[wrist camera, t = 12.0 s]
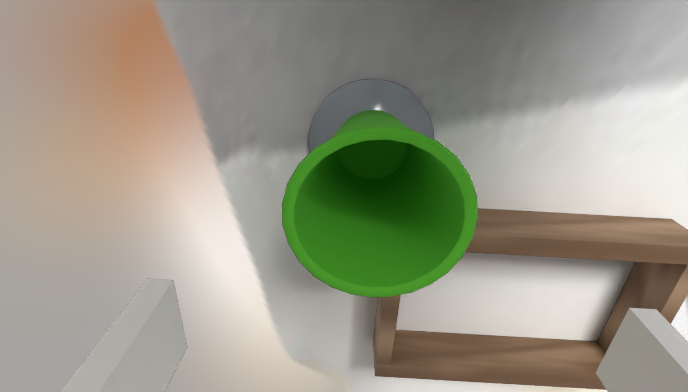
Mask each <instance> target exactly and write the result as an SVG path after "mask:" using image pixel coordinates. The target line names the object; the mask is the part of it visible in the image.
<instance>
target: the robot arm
mask: <svg viewBox="0 0 688 392" xmlns="http://www.w3.org/2000/svg"><path fill="white" fill-rule="evenodd" d="M186 348H187V343H186V338H185V334H184V329H183V324H182V320H181V314H180V309H179V305H178V300H177V295H176V290H175V285H174V281H173V280H163V279H147V280H146V281H145V282H144V283H143V285H142V286H141V287H140V289H139V290H138V291H137V293H136V294H135V295H134V296H133V298H132V299H131V300H130V302H129V303H128V304H127V306H126V307H125V308H124V310H123V311H122V312H121V313H120V315H119V316H118V317H117V319H116V320H115V322H114V323H113V324H112V325H111V326H110V328H109V329H108V330H107V332H106V333H105V334H104V336H103V337H102V338H101V339H100V341H99V342H98V344H97V345H96V346H95V347H94V349H93V350H92V351H91V353H90V354H89V355H88V357H87V358H86V359H85V360H84V362H83V363H82V364H81V366H80V367H79V368H78V370H77V371H76V372H75V373H74V375H73V376H72V378H71V379H70V380H69V381H68V383H67V384H66V385H65V387H64V388H63V389H62V390H61V392H165V391H166V389H167V387H168V385H169V383H170V380H171V379H172V377H173V375H174V372H175V371H176V368H177V366H178V364H179V362H180V360H181V358H182V356H183V355H184V353H185V351H186ZM596 374H597V376H598V377H599V379H600V380H601V382H602V384H603V385H604V387H605V388H606V390H607V391H608V392H688V342H687V341H686V340H685V338H684V337H683V336H682V335H681V334H680V333H679V332H678V331H677V330H676V329H675V328H674V327H673V326H672V325H671V324H670V323H669V322H668V321H667V320H666V319H665V318H664V317H663V316H662V315H661V314H660V312H659V311H658V310H657V309H642V308H629V310H628V312H627V313H626V315H625V317H624V319H623V321H622V323H621V325H620V327H619V329H618V331H617V333H616V335H615V336H614V338H613V340H612V342H611V344H610V346H609V348H608V350H607V352H606V354H605V356H604V358H603V359H602V361H601V363H600V365H599V367H598V369H597V371H596Z"/></svg>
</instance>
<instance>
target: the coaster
mask: <svg viewBox="0 0 688 392" xmlns="http://www.w3.org/2000/svg"><path fill="white" fill-rule="evenodd" d="M366 110H379V111H384V112H387V113H389V114H391V115H393V116H395V117H396V118H397V119H398V120H400V121H401V122H402V123H403V124H405V125H406V126H407V127H408V128H409V129H411V130H413V131H416V132H418V133H420V134H423V135H425V136H427V137H429V138H431V139H434V132H433V127H432V123H431V120H430V117H429V115H428V113H427V111H426V109H425V108H424V106H423V105H422V104H421V102H420V101H419V100H418V99H417V98H416V96H415V95H413V94H412V93H411V92H410V91H408V90H407V89H405V88H404V87H402V86H400V85H398V84H396V83H393V82H390V81H386V80H380V79H364V80H358V81H355V82H351V83H349V84H346V85H344V86H342V87H340V88H339V89H337V90H335V91H334V92H333V93H332V94H330V95H329V96H328V97H327V98H326V99H325V100H324V101H323V103H322V104H321V105H320V107H319V108H318V110H317V112H316V114H315V116H314V118H313V121H312V124H311V127H310V132H309V151H310V153H311V152H312V151H313V150H314V149H315V148H316V147H318V146H319V145H321V144H323V143H324V142H326V141H328V140H330V139H331V137H332V136H333V135H334V134H335V133H336V132H337V130H338V129H339V128H340V127H341V126H342V125H343V124H344V123H345V122H346V121H347V120H348V119H349V118H350V117H352V116H353V115H355V114H357V113H359V112H363V111H366Z"/></svg>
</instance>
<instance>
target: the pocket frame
mask: <svg viewBox="0 0 688 392" xmlns="http://www.w3.org/2000/svg"><path fill="white" fill-rule="evenodd" d="M477 215H478V217H477V221H476V225H475V229H474V233H473V237H472V240H471V241H470V243H469V245H468V247H467V249H466V251H465V252H471V253H489V254H507V255H525V256H543V257H561V258H579V259H597V260H615V261H633V262H635V264H634V266H633V269H632V271H631V273H630V275H629V277H628V279H627V281H626V283H625V285H624V287H623V289H622V292H621V294H620V296H619V298H618V300H617V302H616V304H615V306H614V308H613V310H612V312H611V315H610V317H609V319H608V321H607V323H606V325H605V327H604V329H603V331H602V333H601V335H600V337H599V340H598V342H595V341H578V340H560V339H543V338H526V337H508V336H491V335H473V334H456V333H439V332H421V331H404V330H395V329H396V322H397V315H398V308H399V302H400V295H397V296H392V297H378V301H377V310H376V319H375V328H374V337H373V347H374V367H375V376H382V377H399V378H416V379H433V380H450V381H467V382H485V383H502V384H519V385H536V386H553V387H570V388H587V389H604V390H606V388H605V387H604V385H603V384H602V382H601V380H600V379H599V377H598V376H597V374H596V371H597V369H598V367H599V365H600V363H601V361H602V359H603V358H604V356H605V354H606V352H607V350H608V348H609V346H610V344H611V342H612V340H613V338H614V336H615V335H616V333H617V331H618V329H619V327H620V325H621V323H622V321H623V319H624V317H625V315H626V313H627V312H628V310H629V308H642V309H657V310H658V311H659V312H660V314H661V315H662V316H663V317H664V318H665V319H666V320H667V321H668V322H669V323H670V324H671V322H672V321H673V319H674V317H675V315H676V314H677V312H678V310H679V309H680V307H681V305H682V303H683V302H684V300H685V298H686V296H687V295H688V230H687V229H686V228H684V227H683V226H681V225H680V224H678V223H677V222H675V221H674V220H672V219H659V218H641V217H623V216H605V215H587V214H568V213H550V212H532V211H514V210H496V209H477Z"/></svg>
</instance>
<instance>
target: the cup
mask: <svg viewBox="0 0 688 392" xmlns="http://www.w3.org/2000/svg"><path fill="white" fill-rule="evenodd" d="M477 217H478V215H477V195H476V192H475V189H474V186H473V183H472V180H471V178H470V175H469V174H468V172H467V171H466V169H465V168H464V166H463V165H462V164H461V162H460V161H459V159H458V158H457V157H456V156H455V155H454V154H453V153H451V152H450V151H449V150H448V149H447V148H445V147H444V146H443V145H442V144H440V143H439V142H438V141H436V140H434V139H431V138H429V137H427V136H425V135H423V134H420V133H418V132H416V131H413V130H411V129H409V128H408V127H407V126H406V125H405V124H403V123H402V122H401V121H400V120H398V119H397V118H396V117H395V116H393V115H391V114H389V113H387V112H384V111H379V110H366V111H363V112H359V113H357V114H355V115H353V116H352V117H350V118H349V119H348V120H347V121H346V122H345V123H344V124H343V125H342V126H341V127H340V128H339V129H338V130H337V132H336V133H335V134H334V135H333V136H332V137H331V139H330V140H328V141H326V142H324V143H323V144H321V145H319V146H318V147H316V148H315V149H314V150H313V151H312V152H311V153H310V154H309V155H308V156H307V157H306V158H305V159H304V160H303V161H302V162H301V163H300V164H299V165H298V166H297V168H296V170H295V171H294V173H293V175H292V177H291V178H290V180H289V182H288V183H287V187H286V191H285V195H284V199H283V202H282V223H283V228H284V231H285V234H286V237H287V241H288V244H289V245H290V247H291V249H292V250H293V252H294V253H295V255H296V257H297V258H298V260H299V262H300V263H301V264H302V265H303V266H304V267H305V268H306V269H307V270H308V271H309V272H310V273H311V274H312V275H313V276H314V277H316V278H318V279H319V280H321V281H323V282H324V283H326V284H327V285H329V286H331V287H333V288H336V289H338V290H341V291H344V292H346V293H349V294H354V295H360V296H366V297H392V296H397V295H401V294H406V293H411V292H414V291H416V290H418V289H421V288H423V287H425V286H428V285H430V284H432V283H433V282H435V281H436V280H438V279H439V278H440V277H442V276H443V275H445V274H446V273H448V272H449V271H450V270H451V268H452V267H453V266H454V265H455V264H456V263H457V262H458V261H459V260H460V259H461V258H462V256H463V254H464V252H465V251H466V249H467V247H468V245H469V243H470V241H471V240H472V237H473V233H474V229H475V225H476V221H477Z"/></svg>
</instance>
